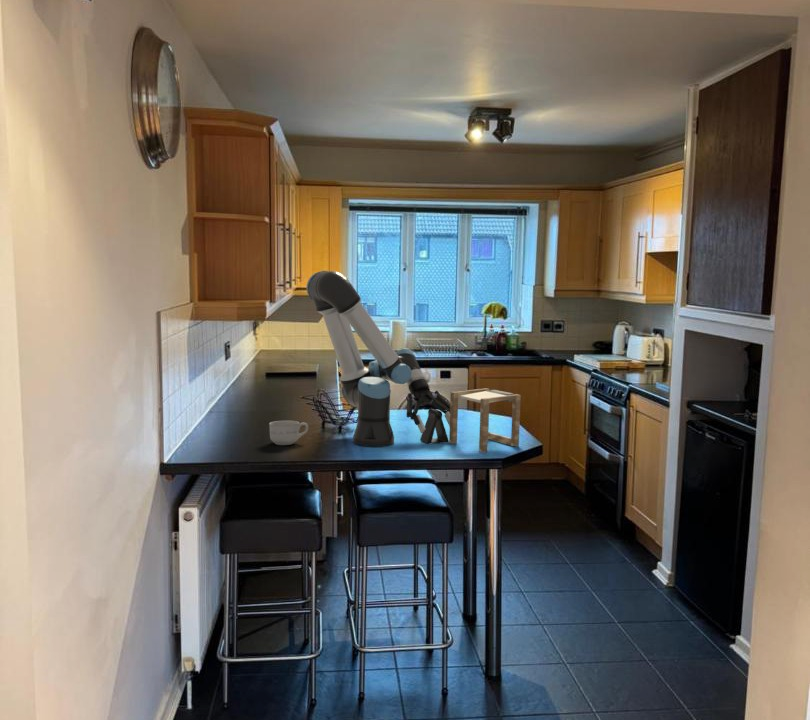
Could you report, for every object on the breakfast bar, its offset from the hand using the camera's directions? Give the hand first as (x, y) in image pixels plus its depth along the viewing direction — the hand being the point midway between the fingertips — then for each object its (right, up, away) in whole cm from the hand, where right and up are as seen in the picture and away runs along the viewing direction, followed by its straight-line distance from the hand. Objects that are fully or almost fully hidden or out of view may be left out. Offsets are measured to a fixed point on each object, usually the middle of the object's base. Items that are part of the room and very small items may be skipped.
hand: (438, 429), depth 267 cm
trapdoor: (+18, +10, -3) cm, 21 cm away
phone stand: (-2, -5, +2) cm, 6 cm away
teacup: (-55, -5, -6) cm, 55 cm away
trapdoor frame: (+17, -5, -2) cm, 17 cm away
